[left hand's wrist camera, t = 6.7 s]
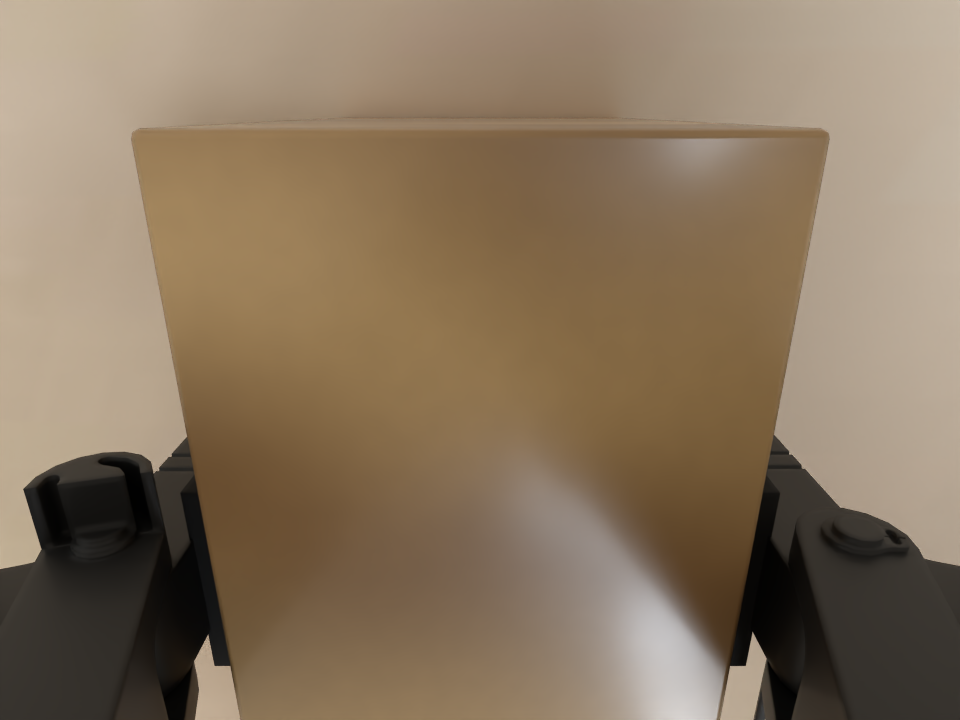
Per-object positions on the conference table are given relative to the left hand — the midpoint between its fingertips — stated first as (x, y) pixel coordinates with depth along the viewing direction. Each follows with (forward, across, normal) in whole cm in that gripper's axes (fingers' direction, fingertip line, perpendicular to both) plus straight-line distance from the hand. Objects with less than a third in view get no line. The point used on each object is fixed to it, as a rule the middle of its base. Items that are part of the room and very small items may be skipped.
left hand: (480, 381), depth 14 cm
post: (+1, 0, -28) cm, 29 cm away
